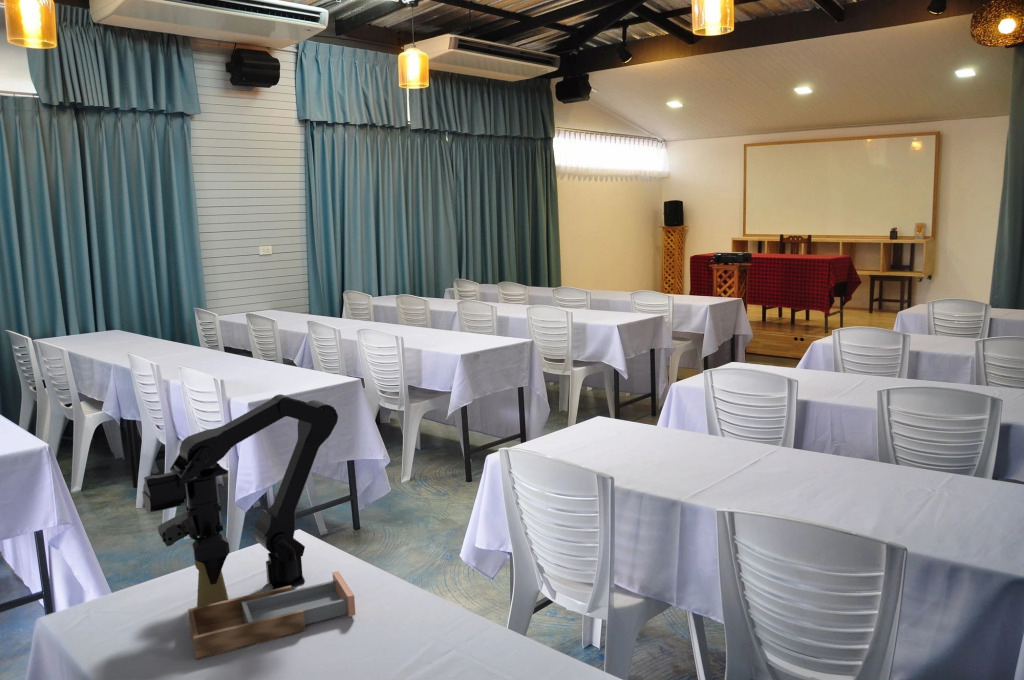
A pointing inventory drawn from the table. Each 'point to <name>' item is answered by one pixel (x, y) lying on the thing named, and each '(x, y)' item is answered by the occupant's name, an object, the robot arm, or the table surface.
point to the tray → (305, 602)
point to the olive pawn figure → (209, 588)
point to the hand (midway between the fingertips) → (210, 574)
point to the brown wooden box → (238, 625)
